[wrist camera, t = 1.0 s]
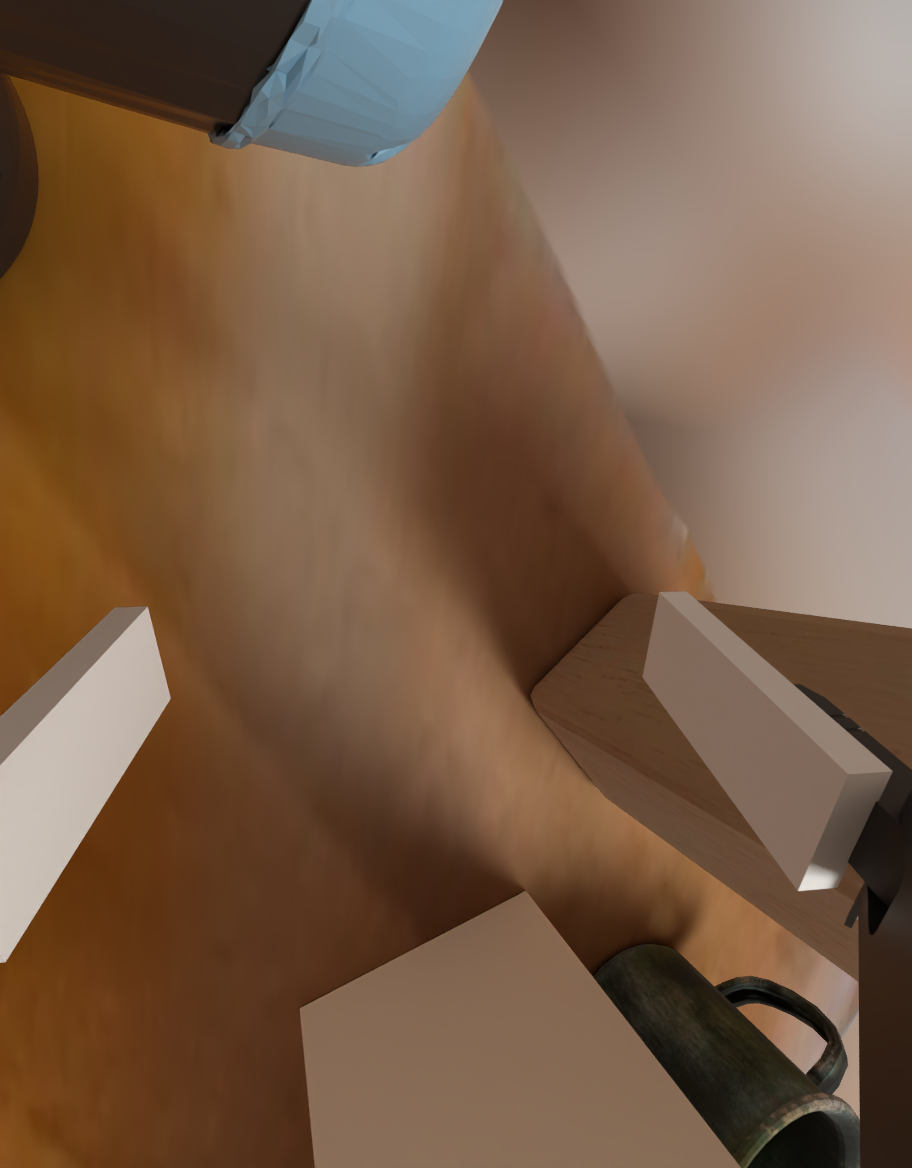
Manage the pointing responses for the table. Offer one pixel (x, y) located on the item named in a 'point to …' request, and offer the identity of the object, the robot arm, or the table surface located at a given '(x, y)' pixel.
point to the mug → (737, 1060)
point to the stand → (491, 1062)
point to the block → (681, 778)
